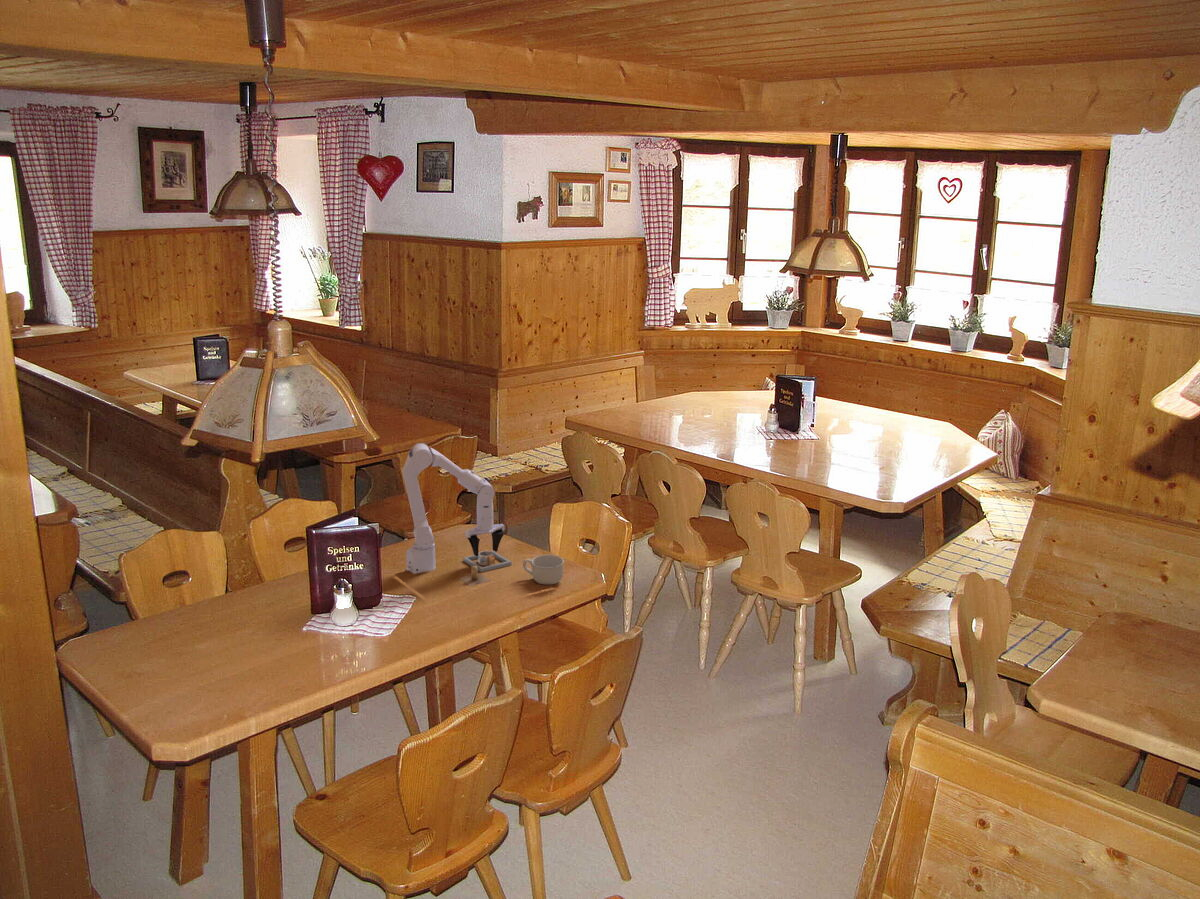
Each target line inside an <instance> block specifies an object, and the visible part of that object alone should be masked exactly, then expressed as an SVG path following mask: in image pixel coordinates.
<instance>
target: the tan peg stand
mask: <svg viewBox="0 0 1200 899" xmlns="http://www.w3.org/2000/svg"><path fill="white" fill-rule="evenodd" d="M470 568H471V570H470V571H471V573H470V574H471V575H466V576H463V577H460V578H458V580H460V581H461V582H463V583H464V584H466V585H467V586H469V587H472V586H476V585H479V584H480V585H481V584H484V583H487V582H488V583H489V582H491V581H492V580H491V579H490V578H488V577H486V576H484V575H483V574H482V573H481V572H480V573H478V572H479V571H478V570H477V566H470Z"/></svg>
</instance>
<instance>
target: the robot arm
mask: <svg viewBox="0 0 1200 899" xmlns="http://www.w3.org/2000/svg"><path fill="white" fill-rule="evenodd" d="M430 466H431V468H435V467H440V468H441V469H443V470H445V471H446V472H448V473H449V474H451V475H452V476H454V477H456V479H457V483H458V484H460V485H461V486H462V487H464V488H465V489H467V491H469V492H471V493H473V494H476V495H477V496H476V527H474V528H472V529H469V530H465V538H467V540H468V542H469V543H470V547H471V549H472V552H473V555H475V556H478V554H479V552H480V550H479V545H480V541H481V540H480V538H479V537H478V536H480V535H485V534H490V535H491V539H492V551H494V552H496V553H498V550H499V546H500V543H501V541H502V538H503V537H504V533H505V532H504V531H505V530H506V528H505V527H506V525H505V524H503V523H498V524H494V502H493V501H494V497H495V494H496V493H495V490H494V488H493V486H492V484H491V483H490V482H488V480H486V479H485V478H484V477H483V478H482V477H480V476H478V475H477V474H476V471H474V470H473V469H471V470H470V469H469V468H466V469H462V468H461V467H460V466H458V465H457V464H455V463H454V462H453V461H451V460H450V459H449V458H447V457H446V456H445V455H443V454H442V453H440V452H439V451H438V450H436V449H434V448H432V447H429V446H428V445H427V444H426V443H423V442H420V443H419V442H418V443H415V444H414V445H413V447H412V448H410V450H409V451H408V453H407V458H406V460H405V462H404V465H403V467H402V470H401V471H402V472H401V473H402V477H403V481H404V486H405V491H406V494H407V499H408V503H409V507H410V512H411V515H412V521H413V526H414V527H413V531H412V533H413V537H414V539H415V540H414V543H413V544H412V545H413V546H411V547H409V548H407V549H406V552H405V559H406V560H405V561H406V568H405V570H406V571H408V572H409V573H412V574H413V575H415V574H420V573H427V572H431V571H434V570H436V566H437V565H436V548H435V546H436V543H435V536H434V534H433V530H432V527H431V526H430V525H429V523H428V522H429V521H428V518H427V514H426V510H425V506H424V501H423V496H422V492H421V488H420V483H419V479H418V476H419V475H420V474H421V473H422V471H423V470H425V469H426V468H428V467H430Z"/></svg>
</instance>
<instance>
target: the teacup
mask: <svg viewBox="0 0 1200 899" xmlns="http://www.w3.org/2000/svg"><path fill="white" fill-rule="evenodd" d="M526 563H529V565H530V566H531V569H530V568H528V566H527V564H526ZM564 563H565V560H564V558H562V557H561V556H559V555H555V554H540V555H537V556H535V557H533V558H532V559H531V558H526V559H524V561H522V568H523V569H524V570H525V572H527V573H528V574H530V576H532V578H533V580H534V582H536V583H537V584H540V585H546V586H550V585H556V584H558V583H560V581H561V580H562V579H563V577H564Z"/></svg>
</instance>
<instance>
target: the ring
mask: <svg viewBox="0 0 1200 899" xmlns="http://www.w3.org/2000/svg"><path fill="white" fill-rule="evenodd" d="M492 551H493V550H481V551H479V554H478V559H477V564H478V565H479V566H490V565H494V564H496V557H494V552H495V551H494V552H492Z"/></svg>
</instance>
